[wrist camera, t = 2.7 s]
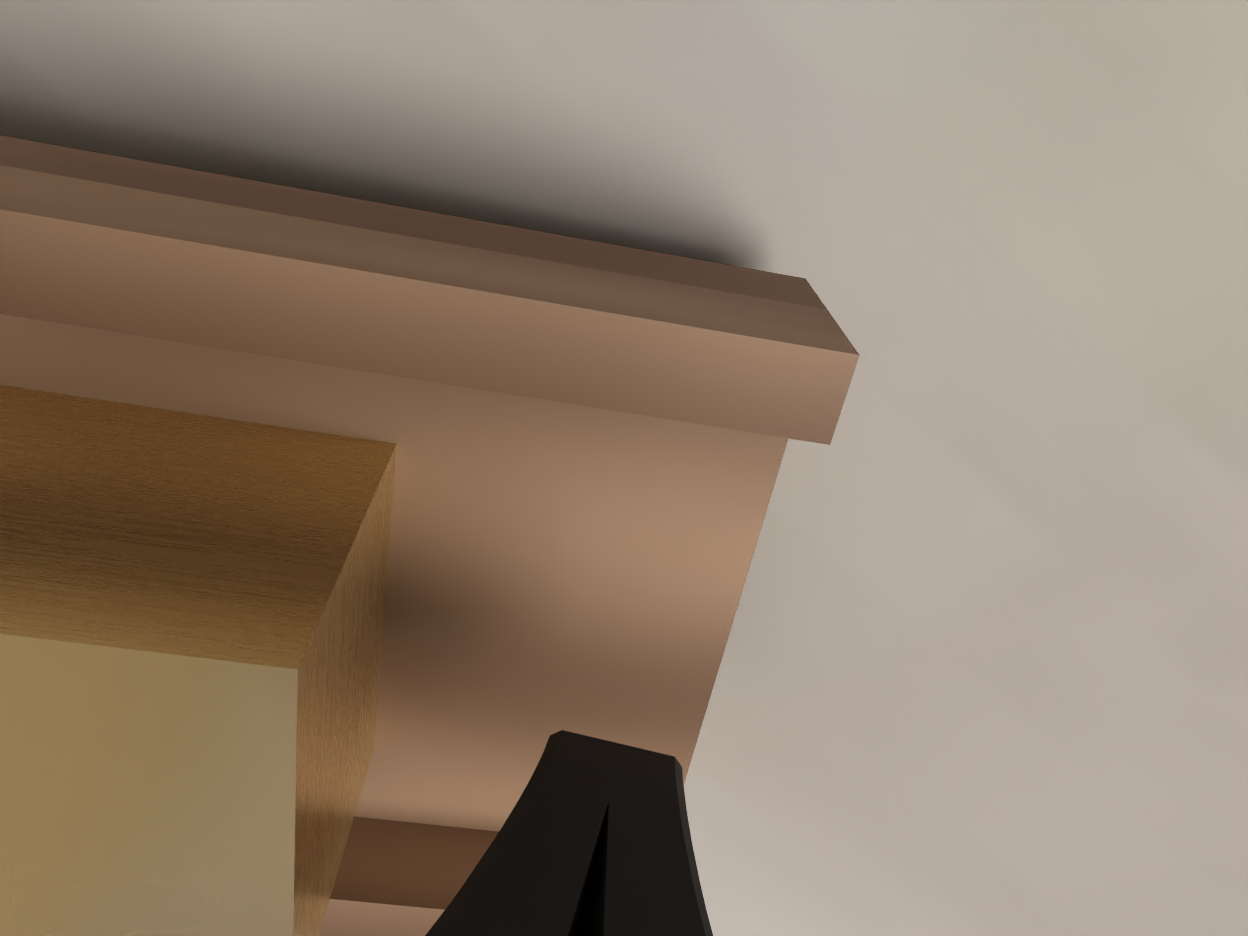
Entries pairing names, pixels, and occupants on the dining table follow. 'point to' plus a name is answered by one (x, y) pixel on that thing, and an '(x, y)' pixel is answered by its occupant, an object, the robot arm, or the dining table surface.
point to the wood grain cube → (182, 666)
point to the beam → (451, 452)
